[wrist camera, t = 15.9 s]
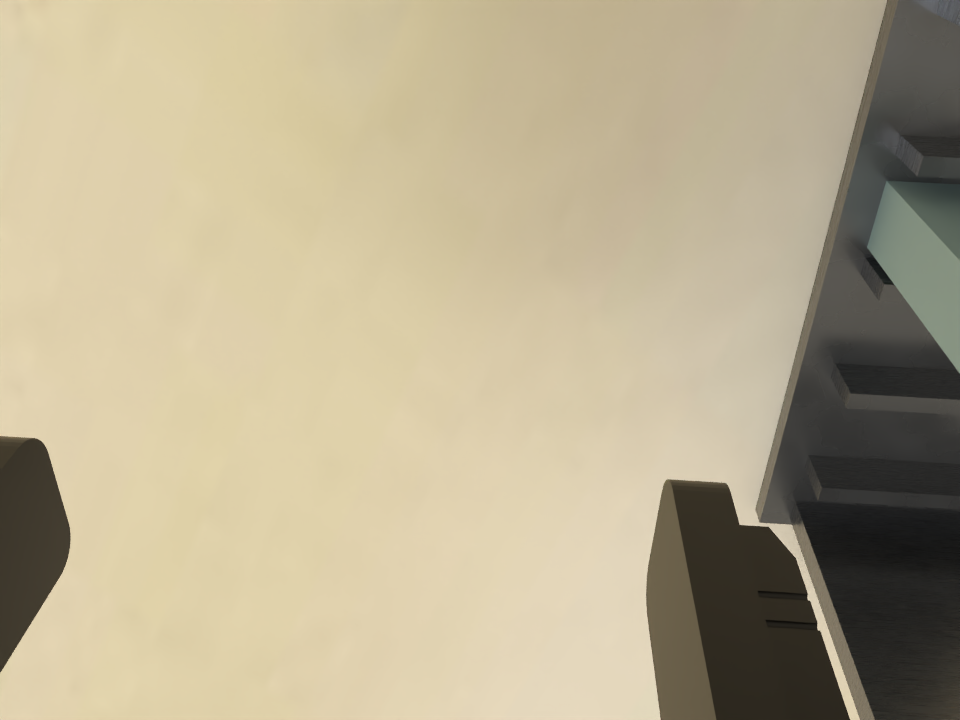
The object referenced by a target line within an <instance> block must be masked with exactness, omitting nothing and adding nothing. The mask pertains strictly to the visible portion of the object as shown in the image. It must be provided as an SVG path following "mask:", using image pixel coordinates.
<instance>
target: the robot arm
mask: <svg viewBox="0 0 960 720" xmlns="http://www.w3.org/2000/svg"><path fill="white" fill-rule="evenodd" d="M69 549H70V527H69V523H68V519H67V516H66V513H65V509H64V506H63V502H62V499H61V495H60V492H59V489H58V485H57V482H56V478H55V475H54V471H53V468H52V464H51V461H50V458H49V454H48V451H47V449H46V447H45V445H44V444H43V443H42V442H41V441H40V440H38V439H35V438H21V437H5V436H0V672H1V671H2V669H3V668H4V666H5V664H6V663H7V661H8V659H9V658H10V656H11V655H12V653H13V651H14V650H15V648H16V647H17V645H18V643H19V642H20V640H21V639H22V637H23V635H24V634H25V632H26V630H27V629H28V627H29V626H30V624H31V622H32V621H33V619H34V618H35V616H36V614H37V613H38V611H39V610H40V608H41V606H42V605H43V603H44V601H45V600H46V598H47V597H48V595H49V593H50V592H51V590H52V589H53V587H54V585H55V584H56V582H57V581H58V579H59V577H60V576H61V574H62V572H63V570H64V567H65V565H66V562H67V558H68V554H69ZM807 595H808V593H807V590H806V587H805V584H804V581H803V579H802V576H801V573H800V570H799V567H798V564H797V561H796V558H795V557H794V556H793V555H792V554H791V552H790V551H789V550H788V549H787V548H786V547H785V545H784V544H783V543H782V542H781V541H780V540H779V539H778V537H777V536H776V535H775V534H774V533H773V532H772V530H771V529H770V528H769V527H760V526H744V525H739V521H738V518H737V514H736V510H735V507H734V503H733V499H732V496H731V492H730V489H729V487H728V485H727V484H726V483H717V482H701V481H685V480H669V479H668V480H666V481H665V483H664V486H663V490H662V495H661V500H660V506H659V511H658V516H657V522H656V527H655V533H654V538H653V543H652V549H651V554H650V560H649V565H648V573H647V590H646V601H647V616H648V624H649V632H650V640H651V647H652V655H653V663H654V670H655V678H656V686H657V693H658V701H659V709H660V717H661V720H850V718H849V716H848V713H847V710H846V707H845V704H844V701H843V698H842V695H841V692H840V689H839V686H838V683H837V680H836V677H835V674H834V671H833V668H832V665H831V662H830V659H829V656H828V653H827V650H826V647H825V644H824V641H823V638H822V635H821V632H820V631H818V630H817V620H816V617H815V614H814V611H813V608H812V605H811V602H810V601H808V600H807Z"/></svg>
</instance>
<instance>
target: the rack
mask: <svg viewBox="0 0 960 720" xmlns="http://www.w3.org/2000/svg"><path fill="white" fill-rule="evenodd" d="M886 181H902V182H921V183H941V184H960V0H888V2H887V6H886V10H885V13H884V17H883V21H882V25H881V29H880V33H879V37H878V40H877V44H876V48H875V52H874V56H873V60H872V64H871V67H870V71H869V75H868V79H867V83H866V87H865V91H864V94H863V98H862V102H861V106H860V110H859V114H858V118H857V121H856V125H855V129H854V133H853V137H852V141H851V144H850V148H849V152H848V156H847V160H846V164H845V168H844V171H843V175H842V179H841V183H840V187H839V191H838V195H837V198H836V202H835V206H834V210H833V214H832V218H831V222H830V225H829V229H828V233H827V237H826V241H825V245H824V249H823V252H822V256H821V260H820V264H819V268H818V272H817V275H816V279H815V283H814V287H813V291H812V295H811V299H810V302H809V306H808V310H807V314H806V318H805V322H804V326H803V329H802V333H801V337H800V341H799V345H798V349H797V353H796V356H795V360H794V364H793V368H792V372H791V376H790V380H789V383H788V387H787V391H786V395H785V399H784V403H783V406H782V410H781V414H780V418H779V422H778V426H777V430H776V433H775V437H774V441H773V445H772V449H771V453H770V457H769V460H768V464H767V468H766V472H765V476H764V480H763V484H762V487H761V491H760V495H759V499H758V503H757V507H756V512H757V515H758V519H759V522H761V523H777V524H792V525H793V528H794V531H795V534H796V537H797V540H798V543H799V545H800V548H801V551H802V554H803V557H804V560H805V563H806V565H807V568H808V571H809V574H810V577H811V580H812V583H813V586H814V588H815V591H816V594H817V597H818V600H819V603H820V606H821V609H822V611H823V614H824V617H825V620H826V623H827V626H828V629H829V631H830V634H831V637H832V640H833V643H834V646H835V649H836V652H837V654H838V657H839V660H840V663H841V666H842V669H843V672H844V675H845V677H846V680H847V683H848V686H849V689H850V692H851V695H852V697H853V700H854V703H855V706H856V709H857V712H858V715H859V718H860V720H960V373H959V372H958V370H957V369H956V368H955V366H954V365H953V364H952V362H951V361H950V360H949V358H948V357H947V355H946V354H945V353H944V351H943V350H942V349H941V347H940V346H939V345H938V343H937V342H936V341H935V339H934V338H933V336H932V335H931V334H930V332H929V331H928V330H927V328H926V327H925V326H924V324H923V323H922V321H921V320H920V319H919V317H918V316H917V315H916V313H915V312H914V311H913V309H912V308H911V306H910V305H909V304H908V302H907V301H906V300H905V298H904V297H903V296H902V294H901V293H900V292H899V290H898V289H897V287H896V286H895V285H894V283H893V282H892V281H891V279H890V278H889V277H888V275H887V274H886V272H885V271H884V270H883V268H882V267H881V266H880V264H879V263H878V262H877V260H876V259H875V258H874V256H873V255H872V253H871V252H870V251H869V249H868V248H867V246H868V242H869V239H870V236H871V232H872V229H873V225H874V222H875V218H876V215H877V211H878V208H879V205H880V201H881V198H882V194H883V191H884V187H885V184H886Z"/></svg>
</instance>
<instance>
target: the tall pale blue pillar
mask: <svg viewBox="0 0 960 720" xmlns="http://www.w3.org/2000/svg"><path fill="white" fill-rule="evenodd" d="M867 248H868V249H869V251H870V252H871V253H872V255H873V256H874V258H875V259H876V260H877V262H878V263H879V264H880V266H881V267H882V268H883V270H884V271H885V272H886V274H887V275H888V277H889V278H890V279H891V281H892V282H893V283H894V285H895V286H896V287H897V289H898V290H899V292H900V293H901V294H902V296H903V297H904V298H905V300H906V301H907V302H908V304H909V305H910V306H911V308H912V309H913V311H914V312H915V313H916V315H917V316H918V317H919V319H920V320H921V321H922V323H923V324H924V326H925V327H926V328H927V330H928V331H929V332H930V334H931V335H932V336H933V338H934V339H935V341H936V342H937V343H938V345H939V346H940V347H941V349H942V350H943V351H944V353H945V354H946V355H947V357H948V358H949V360H950V361H951V362H952V364H953V365H954V366H955V368H956V369H957V370H958V372H959V373H960V184H941V183H921V182H902V181H886V184H885V187H884V191H883V194H882V198H881V201H880V205H879V208H878V211H877V215H876V218H875V222H874V225H873V229H872V232H871V236H870V239H869V242H868V246H867Z"/></svg>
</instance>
